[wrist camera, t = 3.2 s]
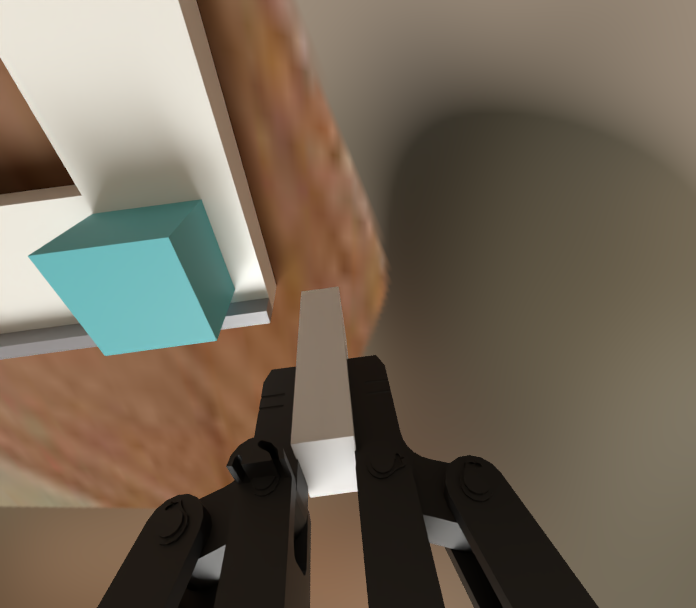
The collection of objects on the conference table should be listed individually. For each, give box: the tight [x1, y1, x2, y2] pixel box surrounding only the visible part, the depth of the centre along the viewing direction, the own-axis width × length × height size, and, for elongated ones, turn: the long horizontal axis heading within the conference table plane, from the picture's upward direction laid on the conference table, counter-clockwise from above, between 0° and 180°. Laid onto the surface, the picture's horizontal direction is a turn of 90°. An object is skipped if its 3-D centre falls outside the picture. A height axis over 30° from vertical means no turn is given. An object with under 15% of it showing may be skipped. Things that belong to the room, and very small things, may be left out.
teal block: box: [28, 199, 235, 356], centre depth 18 cm, size 6×6×5 cm
